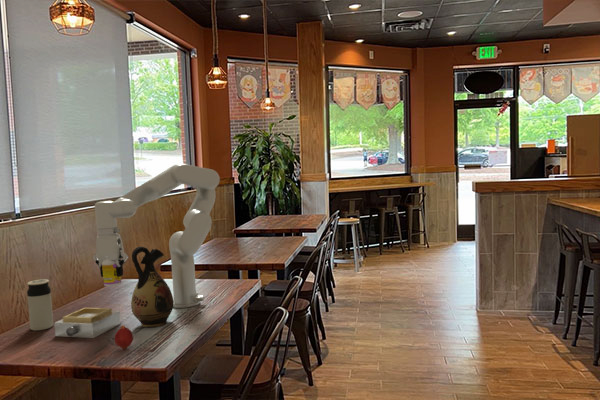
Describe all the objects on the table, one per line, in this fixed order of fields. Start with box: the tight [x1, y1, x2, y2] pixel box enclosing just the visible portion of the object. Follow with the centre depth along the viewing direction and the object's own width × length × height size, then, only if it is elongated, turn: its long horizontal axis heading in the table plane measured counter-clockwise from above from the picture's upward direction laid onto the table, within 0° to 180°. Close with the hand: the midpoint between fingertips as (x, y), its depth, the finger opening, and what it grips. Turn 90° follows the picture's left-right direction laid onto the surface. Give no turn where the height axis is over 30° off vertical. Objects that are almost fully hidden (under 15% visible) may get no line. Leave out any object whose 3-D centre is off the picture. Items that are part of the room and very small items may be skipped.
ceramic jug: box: [130, 246, 174, 328], centre depth 189 cm, size 17×15×30 cm
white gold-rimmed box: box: [53, 307, 121, 339], centre depth 186 cm, size 16×18×6 cm
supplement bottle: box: [102, 256, 122, 288], centre depth 200 cm, size 7×7×13 cm
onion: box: [114, 324, 134, 350], centre depth 165 cm, size 6×6×8 cm
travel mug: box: [26, 278, 54, 332], centre depth 192 cm, size 8×8×18 cm
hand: (112, 275), depth 201 cm, fingers closed on supplement bottle, 6 cm apart
